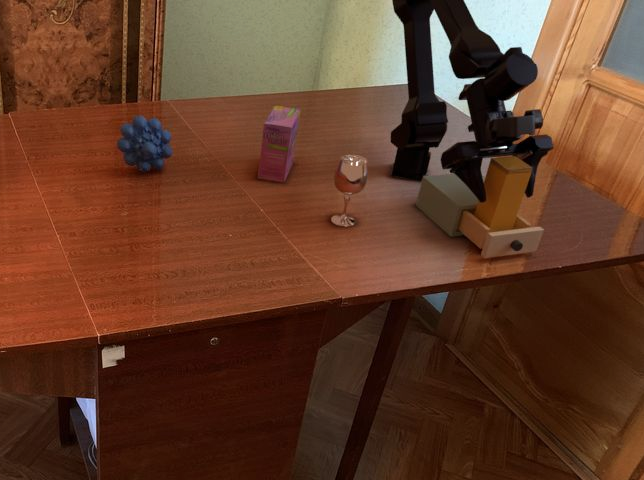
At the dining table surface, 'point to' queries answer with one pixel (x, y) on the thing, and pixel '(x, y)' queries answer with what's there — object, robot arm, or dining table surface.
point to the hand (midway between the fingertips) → (507, 199)
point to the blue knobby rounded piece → (144, 143)
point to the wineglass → (349, 183)
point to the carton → (503, 192)
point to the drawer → (500, 236)
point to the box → (278, 143)
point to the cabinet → (445, 200)
